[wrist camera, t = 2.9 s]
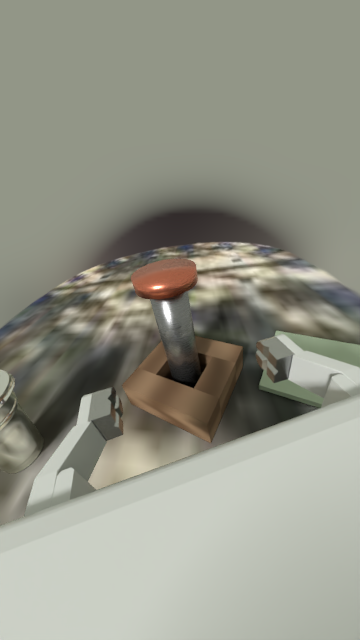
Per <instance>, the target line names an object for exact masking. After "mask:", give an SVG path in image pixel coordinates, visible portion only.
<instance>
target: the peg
mask: <svg viewBox="0 0 360 640" xmlns="http://www.w3.org/2000/svg"><path fill="white" fill-rule="evenodd" d="M131 280H132V283H133V286H134V289H135V292H136V294H137V295H138V296H139V297H142V298H145V299H150V301H151V304H152V308H153V311H154V315H155V318H156V322H157V325H158V329H159V332H160V336H161V339H162V343H163V346H164V350H165V353H166V357H167V360H168V364H169V367H170V371H171V374H172V378H173V381H175V382H178V383H180V384H183V385H186V386H188V387H191V388H194V387H195V385H196V384H197V382H198V380H199V378H200V377H201V370H200V364H199V358H198V352H197V346H196V340H195V334H194V328H193V321H192V315H191V309H190V303H189V297H188V290H190V289H191V288H193V287H194V286H195V285H196V283H197V281H198V278H197V270H196V264H195V263H194V262H193V261H191V260H187V259H168V260H162V261H158V262H154V263H151V264H148V265H146V266H143V267H141V268H140V269H138V270H137V271H135V272H134V273H133V274H132V276H131Z"/></svg>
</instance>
